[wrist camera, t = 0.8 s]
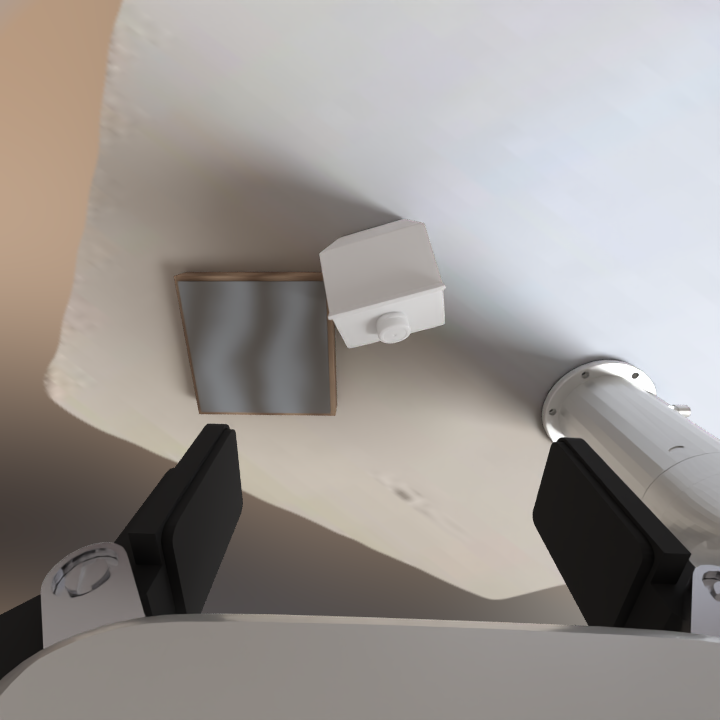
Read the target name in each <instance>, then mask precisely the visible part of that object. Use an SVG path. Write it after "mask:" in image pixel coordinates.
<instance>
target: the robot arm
mask: <svg viewBox="0 0 720 720" xmlns="http://www.w3.org/2000/svg"><path fill="white" fill-rule="evenodd" d="M690 414H691V410H690V408H689V407H688V406H687V405H670V404H668V403H666V402H665V401H663V400H662V399H660V398H659V397H657V393H656V390H655V387H654V384H653V383H652V381H651V380H650V378H649V377H648V376H647V375H646V374H645V373H644V372H643V371H641V370H640V369H638V368H636V367H635V366H633V365H631V364H628V363H626V362H622V361H617V360H600V361H594V362H590V363H587V364H584V365H581V366H579V367H577V368H575V369H573V370H571V371H570V372H569V373H567V374H566V375H564V376H563V377H562V378H561V379H560V380H559V381H558V382H557V383H556V384H555V385H554V386H553V388H552V389H551V390H550V392H549V393H548V395H547V397H546V400H545V402H544V406H543V410H542V422H543V427H544V429H545V431H546V433H547V435H548V436H549V438H550V439H551V440H552V442H553V443H552V445H551V448H550V451H549V455H548V458H547V462H546V466H545V469H544V473H543V477H542V480H541V484H540V488H539V491H538V495H537V499H536V502H535V506H534V509H533V522H534V525H535V527H536V529H537V530H538V532H539V534H540V536H541V538H542V540H543V542H544V544H545V545H546V547H547V549H548V551H549V553H550V555H551V557H552V558H553V560H554V562H555V564H556V566H557V568H558V570H559V572H560V573H561V575H562V577H563V579H564V581H565V583H566V585H567V587H568V588H569V590H570V592H571V594H572V596H573V598H574V600H575V601H576V603H577V605H578V607H579V609H580V611H581V613H582V615H583V616H584V618H585V620H586V622H587V624H588V626H576V625H575V626H574V625H552V624H530V623H506V622H481V621H480V622H479V621H453V620H427V619H426V620H425V619H398V618H370V617H338V616H337V617H336V616H304V615H272V614H201V611H202V609H203V606H204V604H205V601H206V599H207V596H208V594H209V592H210V589H211V587H212V584H213V582H214V579H215V577H216V574H217V571H218V569H219V567H220V564H221V562H222V559H223V557H224V554H225V552H226V549H227V547H228V544H229V542H230V539H231V536H232V534H233V532H234V529H235V527H236V525H237V522H238V520H239V517H240V514H241V511H242V505H243V501H242V500H243V499H242V490H241V480H240V470H239V460H238V451H237V441H236V432H235V430H234V429H230V428H229V425H227V424H207V425H206V426H205V427H204V428H203V430H202V431H201V433H200V434H199V435H198V437H197V438H196V439H195V441H194V442H193V444H192V445H191V446H190V448H189V449H188V450H187V452H186V453H185V455H184V456H183V457H182V459H181V460H180V461H179V463H178V464H177V466H176V467H175V468H172V469H170V470H169V471H168V472H167V473H166V474H165V475H164V477H163V478H162V479H161V480H160V482H159V483H158V485H157V486H156V487H155V489H154V490H153V491H152V493H151V494H150V495H149V497H148V498H147V499H146V501H145V502H144V503H143V505H142V506H141V507H140V509H139V510H138V511H137V513H136V514H135V515H134V517H133V518H132V519H131V521H130V522H129V523H128V525H127V526H126V527H125V529H124V530H123V532H122V533H121V534H120V535H119V537H118V538H117V539H116V541H115V542H114V543H109V542H104V543H96V544H92V545H89V546H86V547H83V548H81V549H79V550H77V551H75V552H73V553H71V554H69V555H68V556H67V557H65V558H64V559H63V560H61V561H60V562H58V563H57V564H56V565H55V567H53V569H52V570H51V571H50V572H49V573H48V574H47V576H46V578H45V580H44V581H43V583H42V588H41V594H40V595H38V596H36V597H34V598H32V599H30V600H29V601H27V602H25V603H23V604H21V605H19V606H17V607H15V608H13V609H11V610H9V611H7V612H5V613H3V614H1V615H0V720H720V440H719V439H718V438H716V437H715V436H713V435H712V434H710V433H709V432H707V431H706V430H704V429H703V428H701V427H700V426H698V425H696V424H695V423H693V422H692V421H690V420H689V419H687V418H686V417H689V416H690Z"/></svg>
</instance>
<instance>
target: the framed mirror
mask: <svg viewBox="0 0 720 720" xmlns="http://www.w3.org/2000/svg"><path fill="white" fill-rule="evenodd" d="M174 280H175V286H176V291H177V296H178V302H179V307H180V313H181V318H182V323H183V329H184V334H185V340H186V345H187V351H188V356H189V361H190V367H191V372H192V378H193V383H194V389H195V394H196V399H197V405H198V410H199V414H242V415H327V416H335V413H336V408H337V386H336V354H335V323H334V321H333V319H332V320H329V319H328V315H329V307H328V302H327V296H326V290H325V285H324V279H323V273H322V272H185V273H182V274H179V275H176V276H174Z"/></svg>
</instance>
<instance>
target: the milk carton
mask: <svg viewBox="0 0 720 720" xmlns="http://www.w3.org/2000/svg"><path fill="white" fill-rule="evenodd" d="M319 256H320V262H321V268H322V273H323V279H324V285H325V290H326V296H327V302H328V307H329V315H328V319H329V320H332V319H333V321H334V323H335V325H336V327H337V329H338V331H339V332H340V334H341V336H342V338H343V340H344V342H345V344H346V345H347V347H348V348H354V347H358V346H362V345H367V344H371V343H374V342H378V341H382V342H383V343H396V342H400V341H402V340H404V339H406V338H407V337H408V336H409V335H410V333H414V332H418V331H422V330H426V329H429V328H433V327H437V326H440V325H443V324H445V314H444V295H443V290H444V289H446V286H445V285H444V284H443V283H442V279H441V276H440V273H439V270H438V266H437V263H436V260H435V256H434V253H433V250H432V247H431V243H430V240H429V237H428V234H427V230H426V227H425V224H424V223H421V222H417V221H412V220H408V219H402V220H398V221H394V222H391V223H388V224H384V225H381V226H377V227H374V228H371V229H367V230H364V231H360V232H357V233H354V234H350V235H347V236H344V237H341V238H338V239H337V240H336V241H335V242H333V243H332V244H331V245H329V246H328V247H327V248H326V249H324V250H323V251H322V252H320V253H319Z"/></svg>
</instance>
